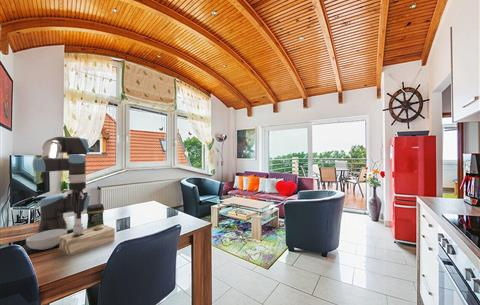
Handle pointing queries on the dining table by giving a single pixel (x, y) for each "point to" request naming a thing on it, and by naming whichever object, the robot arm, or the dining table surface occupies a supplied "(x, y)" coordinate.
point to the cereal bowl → (45, 239)
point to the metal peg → (77, 230)
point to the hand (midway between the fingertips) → (77, 224)
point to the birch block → (86, 239)
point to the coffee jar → (95, 215)
